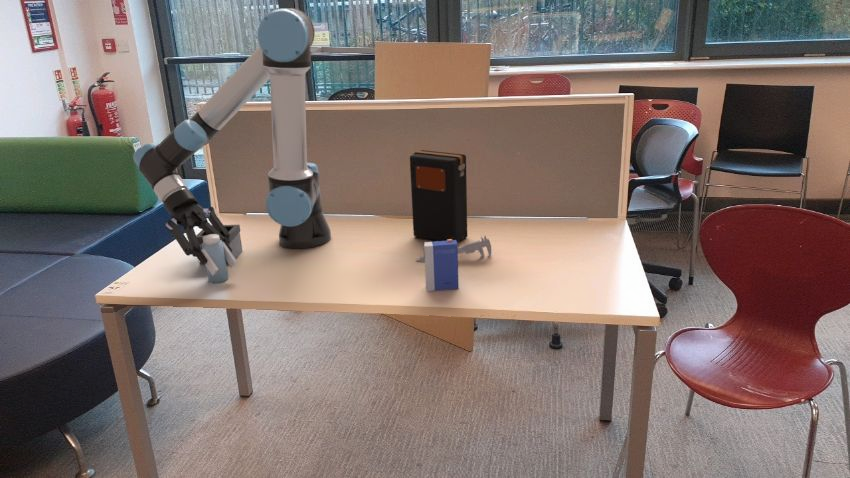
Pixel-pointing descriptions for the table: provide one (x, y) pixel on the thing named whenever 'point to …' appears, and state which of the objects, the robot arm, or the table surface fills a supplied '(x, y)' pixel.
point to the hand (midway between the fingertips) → (224, 268)
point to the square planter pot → (233, 240)
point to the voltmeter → (439, 195)
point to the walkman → (441, 265)
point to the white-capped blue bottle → (215, 257)
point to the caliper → (471, 248)
